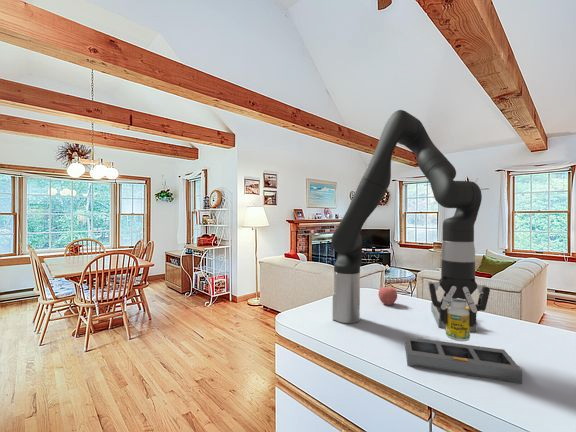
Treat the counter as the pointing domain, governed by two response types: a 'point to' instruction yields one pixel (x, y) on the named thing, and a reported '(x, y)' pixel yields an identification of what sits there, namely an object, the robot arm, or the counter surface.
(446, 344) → the three-compartment grey tray
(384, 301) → the apple
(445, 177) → the robot arm
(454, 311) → the supplement bottle
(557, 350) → the counter surface
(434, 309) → the clamp tray
